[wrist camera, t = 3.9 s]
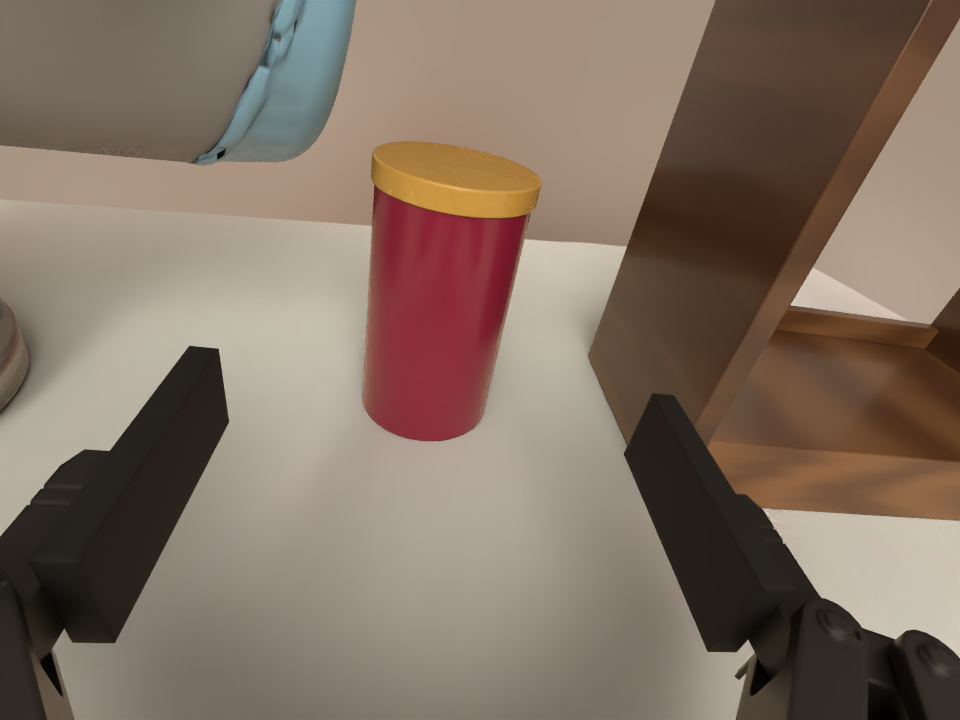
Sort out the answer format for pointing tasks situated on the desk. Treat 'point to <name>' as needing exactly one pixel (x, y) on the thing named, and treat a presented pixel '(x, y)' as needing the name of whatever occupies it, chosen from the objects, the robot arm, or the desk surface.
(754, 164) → the shelf
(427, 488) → the desk surface
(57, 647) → the desk surface
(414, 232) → the cylinder
